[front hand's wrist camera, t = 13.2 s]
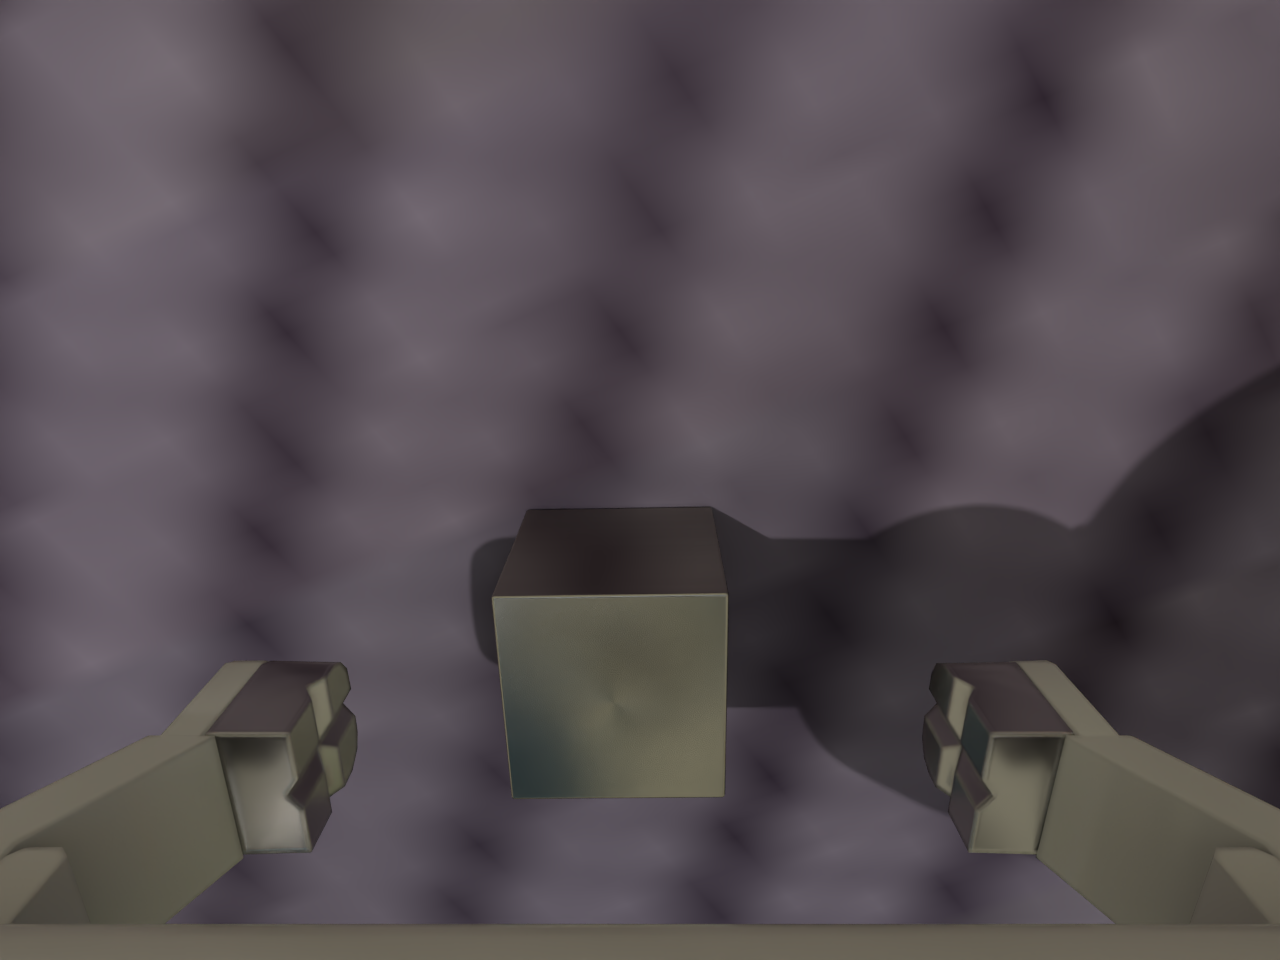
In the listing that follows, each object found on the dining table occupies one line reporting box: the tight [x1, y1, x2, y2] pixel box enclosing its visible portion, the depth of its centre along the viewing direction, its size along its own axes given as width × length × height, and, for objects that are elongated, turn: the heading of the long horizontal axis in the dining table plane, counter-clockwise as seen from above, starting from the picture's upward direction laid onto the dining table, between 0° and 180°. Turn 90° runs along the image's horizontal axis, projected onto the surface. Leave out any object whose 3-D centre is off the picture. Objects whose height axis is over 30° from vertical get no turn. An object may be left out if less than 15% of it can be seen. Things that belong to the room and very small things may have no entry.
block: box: [491, 507, 729, 799], centre depth 17 cm, size 5×5×4 cm
